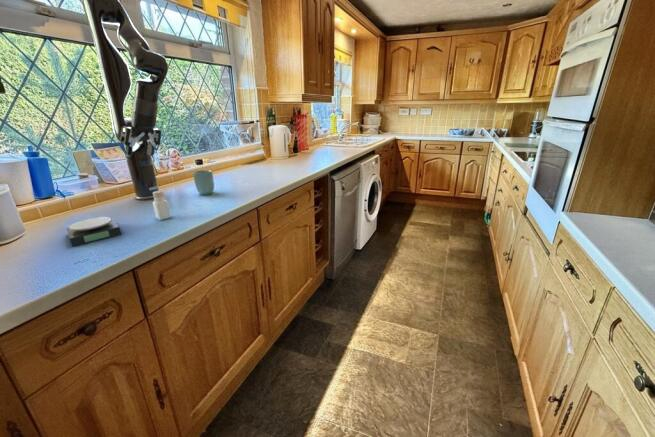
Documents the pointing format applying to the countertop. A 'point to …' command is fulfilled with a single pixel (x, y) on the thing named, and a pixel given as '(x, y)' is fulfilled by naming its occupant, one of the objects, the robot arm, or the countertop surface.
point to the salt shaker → (161, 206)
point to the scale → (92, 230)
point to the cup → (204, 181)
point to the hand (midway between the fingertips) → (139, 155)
